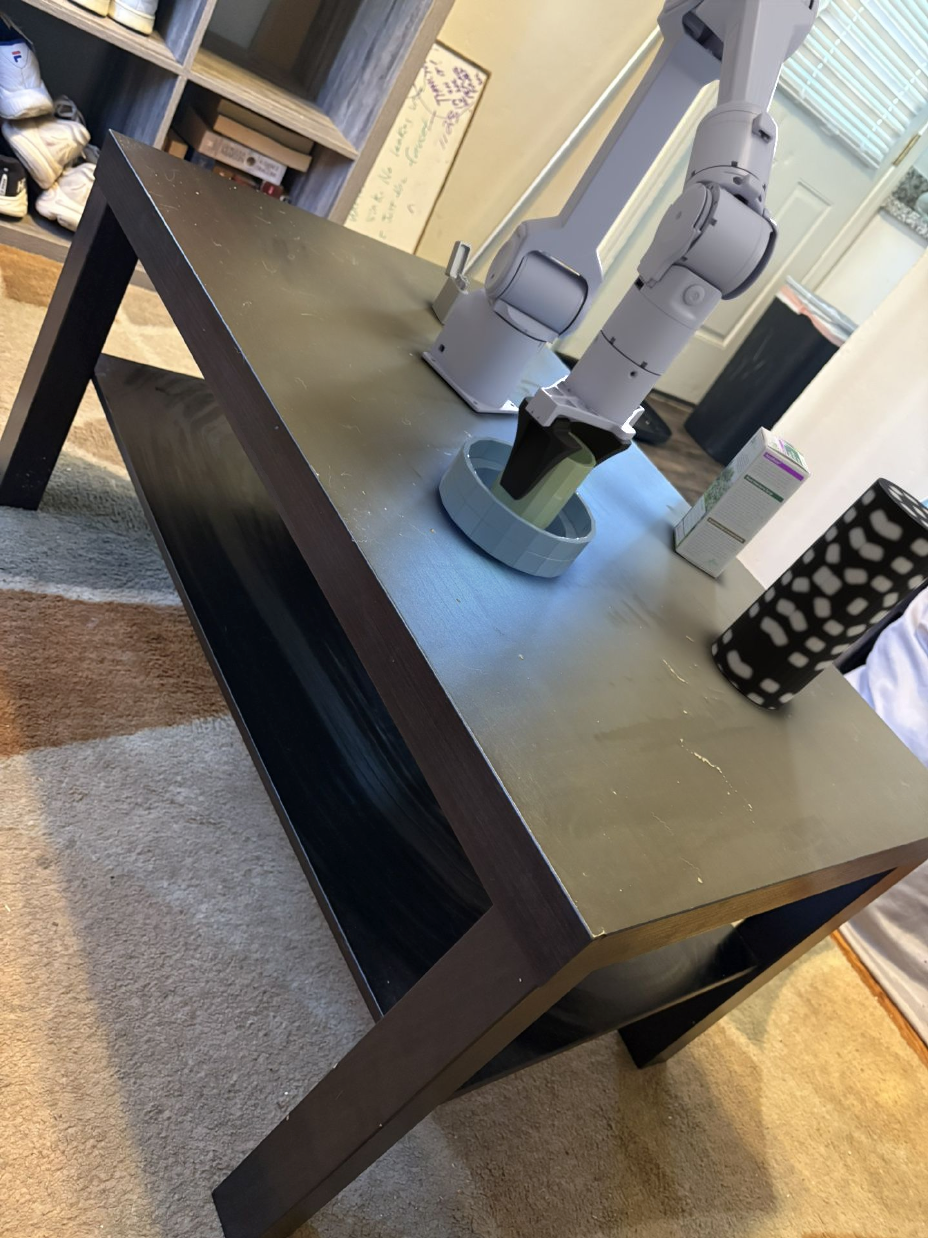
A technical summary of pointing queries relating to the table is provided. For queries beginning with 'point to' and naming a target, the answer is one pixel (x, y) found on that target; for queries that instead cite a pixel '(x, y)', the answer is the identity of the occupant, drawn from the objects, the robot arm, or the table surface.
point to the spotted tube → (828, 596)
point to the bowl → (510, 514)
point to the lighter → (453, 282)
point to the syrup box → (740, 502)
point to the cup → (549, 488)
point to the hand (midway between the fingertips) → (529, 489)
